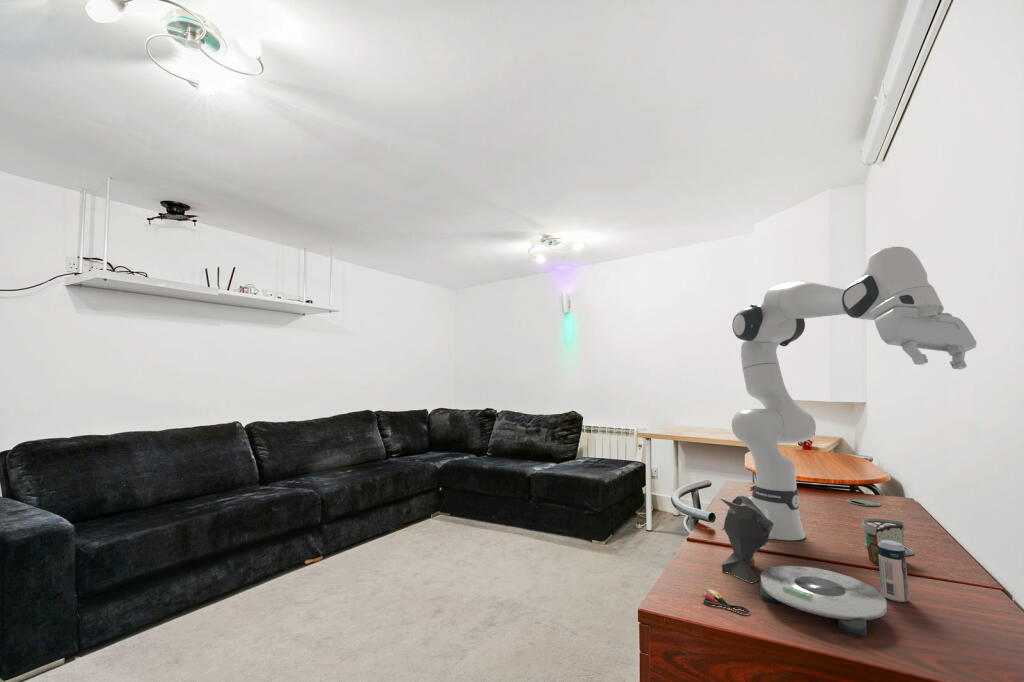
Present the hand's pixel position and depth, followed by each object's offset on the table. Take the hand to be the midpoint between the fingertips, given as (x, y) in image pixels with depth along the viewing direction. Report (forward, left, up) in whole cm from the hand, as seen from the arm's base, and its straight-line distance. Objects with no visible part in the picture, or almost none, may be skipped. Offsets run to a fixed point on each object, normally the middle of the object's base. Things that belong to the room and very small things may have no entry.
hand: (941, 366), depth 95 cm
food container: (-24, +27, -51) cm, 62 cm away
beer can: (-12, +3, -51) cm, 52 cm away
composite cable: (-29, -33, -51) cm, 68 cm away
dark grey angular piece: (-39, -9, -51) cm, 65 cm away
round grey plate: (-18, -16, -51) cm, 56 cm away
